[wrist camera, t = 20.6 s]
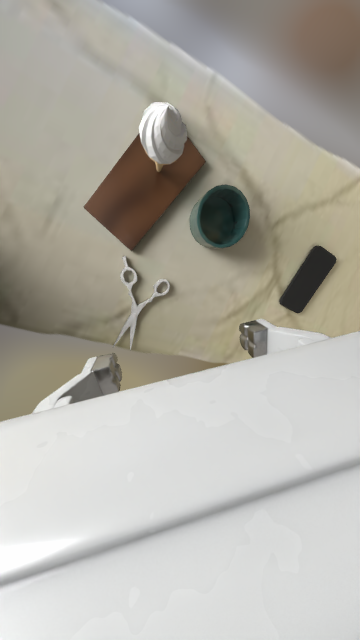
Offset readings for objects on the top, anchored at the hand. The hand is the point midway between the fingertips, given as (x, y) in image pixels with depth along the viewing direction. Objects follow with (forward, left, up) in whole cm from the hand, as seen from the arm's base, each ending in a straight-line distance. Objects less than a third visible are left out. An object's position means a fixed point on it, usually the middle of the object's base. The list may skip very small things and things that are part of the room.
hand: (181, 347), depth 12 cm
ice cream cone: (-12, +14, -28) cm, 34 cm away
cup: (+1, +16, -29) cm, 33 cm away
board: (-12, +11, -29) cm, 33 cm away
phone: (+27, +24, -29) cm, 46 cm away
